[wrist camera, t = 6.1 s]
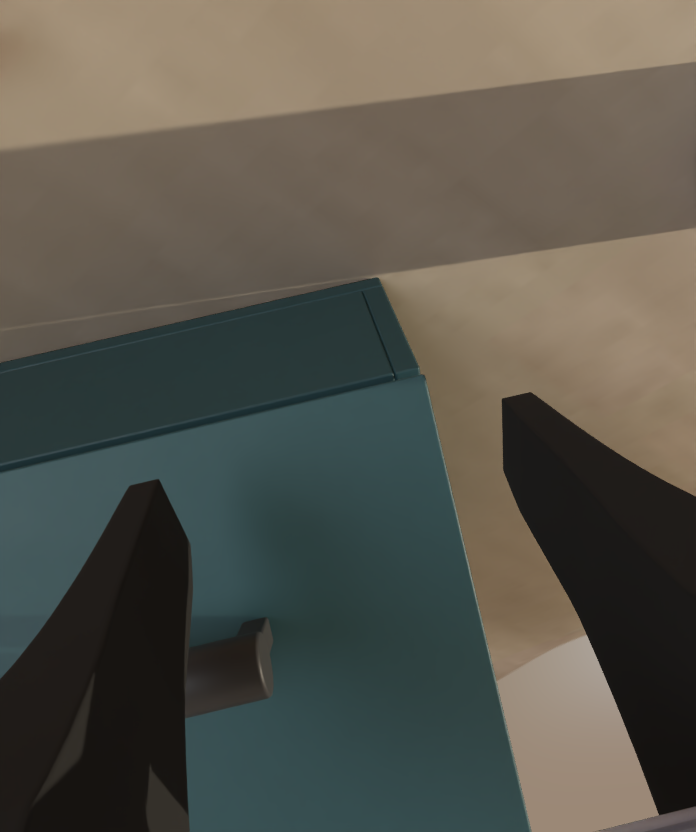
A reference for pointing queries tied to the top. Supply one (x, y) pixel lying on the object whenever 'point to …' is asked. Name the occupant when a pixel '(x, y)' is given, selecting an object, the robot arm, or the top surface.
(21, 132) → the top surface
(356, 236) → the top surface
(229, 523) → the bin lid
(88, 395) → the bin
